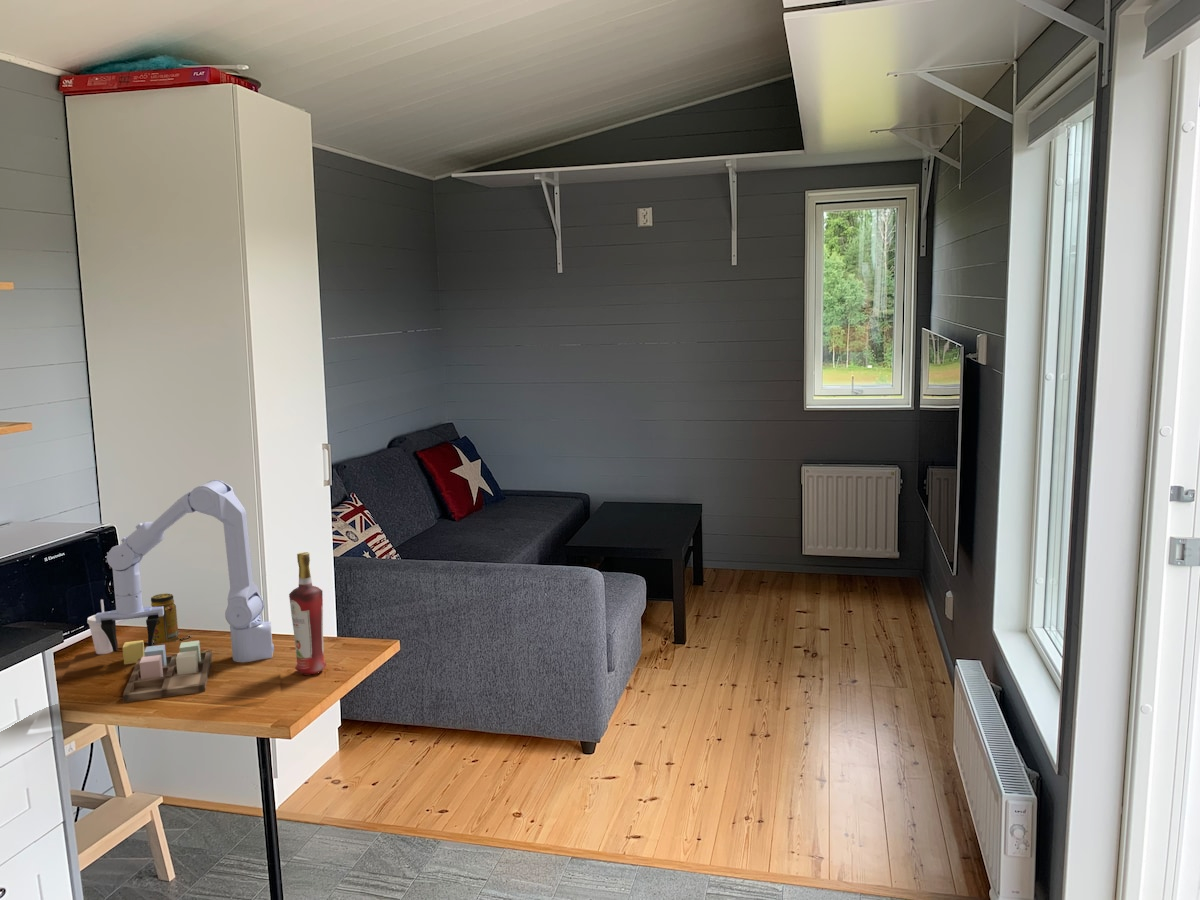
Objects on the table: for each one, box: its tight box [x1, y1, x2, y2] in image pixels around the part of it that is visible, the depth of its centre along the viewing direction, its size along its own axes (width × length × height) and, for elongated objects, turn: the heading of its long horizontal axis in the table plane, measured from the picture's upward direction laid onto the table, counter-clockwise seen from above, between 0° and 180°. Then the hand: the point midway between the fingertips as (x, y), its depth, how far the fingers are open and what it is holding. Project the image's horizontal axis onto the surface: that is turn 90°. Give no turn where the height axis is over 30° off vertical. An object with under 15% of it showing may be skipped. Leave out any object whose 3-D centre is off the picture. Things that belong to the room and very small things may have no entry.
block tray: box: [122, 649, 213, 703], centre depth 216 cm, size 16×24×2 cm
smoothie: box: [86, 599, 114, 655], centre depth 234 cm, size 6×6×14 cm
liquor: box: [288, 552, 327, 676], centre depth 218 cm, size 7×7×28 cm
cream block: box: [176, 651, 198, 675], centre depth 217 cm, size 4×4×5 cm
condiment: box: [145, 593, 192, 645], centre depth 245 cm, size 7×8×12 cm
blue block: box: [144, 644, 167, 666], centre depth 222 cm, size 4×4×5 cm
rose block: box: [140, 655, 163, 680], centre depth 215 cm, size 4×4×5 cm
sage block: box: [179, 640, 201, 662], centre depth 224 cm, size 4×4×5 cm
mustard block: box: [122, 639, 145, 665], centre depth 228 cm, size 4×4×5 cm
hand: (133, 647), depth 228 cm, fingers open, 7 cm apart
